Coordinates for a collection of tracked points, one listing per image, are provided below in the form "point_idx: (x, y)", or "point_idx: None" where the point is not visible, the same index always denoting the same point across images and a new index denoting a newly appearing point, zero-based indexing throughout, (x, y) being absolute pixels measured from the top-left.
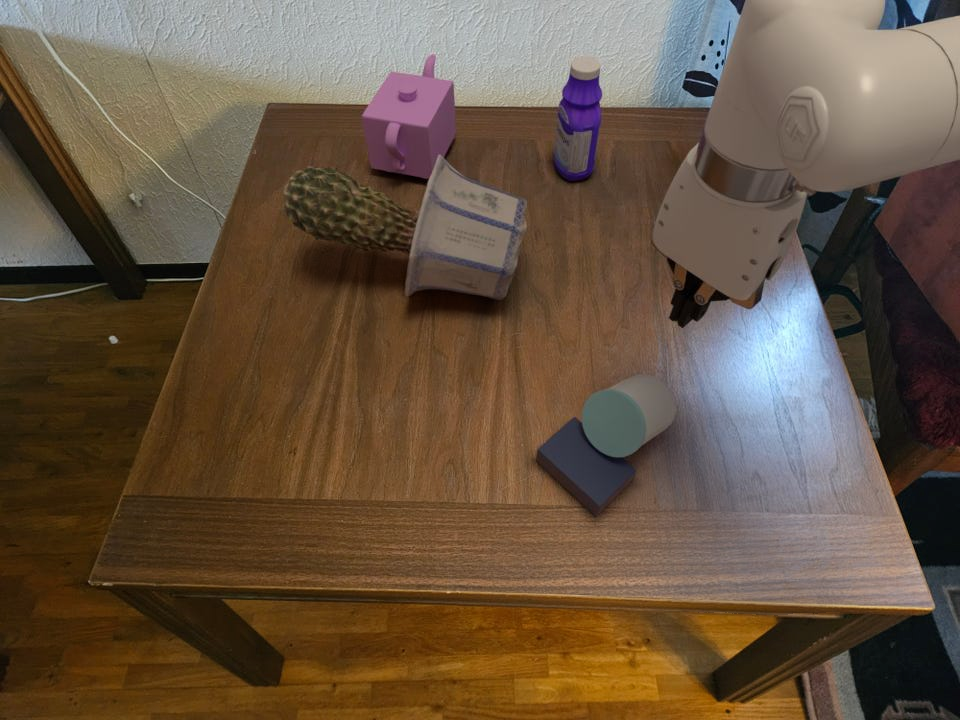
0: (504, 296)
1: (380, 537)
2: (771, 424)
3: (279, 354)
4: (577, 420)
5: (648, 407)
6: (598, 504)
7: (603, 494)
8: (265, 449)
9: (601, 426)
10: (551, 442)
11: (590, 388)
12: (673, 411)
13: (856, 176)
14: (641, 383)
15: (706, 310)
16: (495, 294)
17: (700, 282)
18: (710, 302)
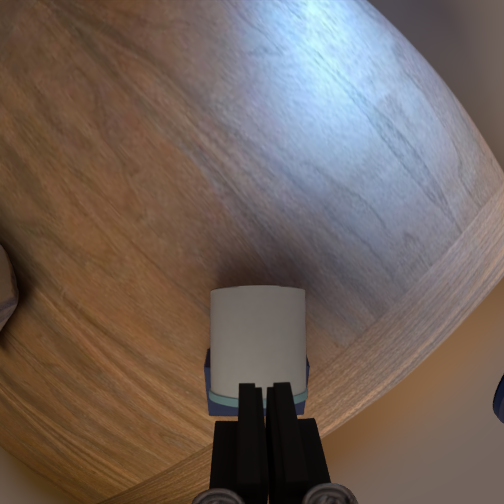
0: (15, 306)
1: (186, 484)
2: (388, 157)
3: (15, 428)
4: (210, 368)
5: (286, 373)
6: (301, 414)
7: (298, 406)
8: (85, 476)
9: None
10: (213, 404)
11: (178, 291)
12: (302, 297)
13: None
14: (245, 336)
15: (316, 430)
16: (10, 314)
17: (263, 492)
18: (323, 456)
